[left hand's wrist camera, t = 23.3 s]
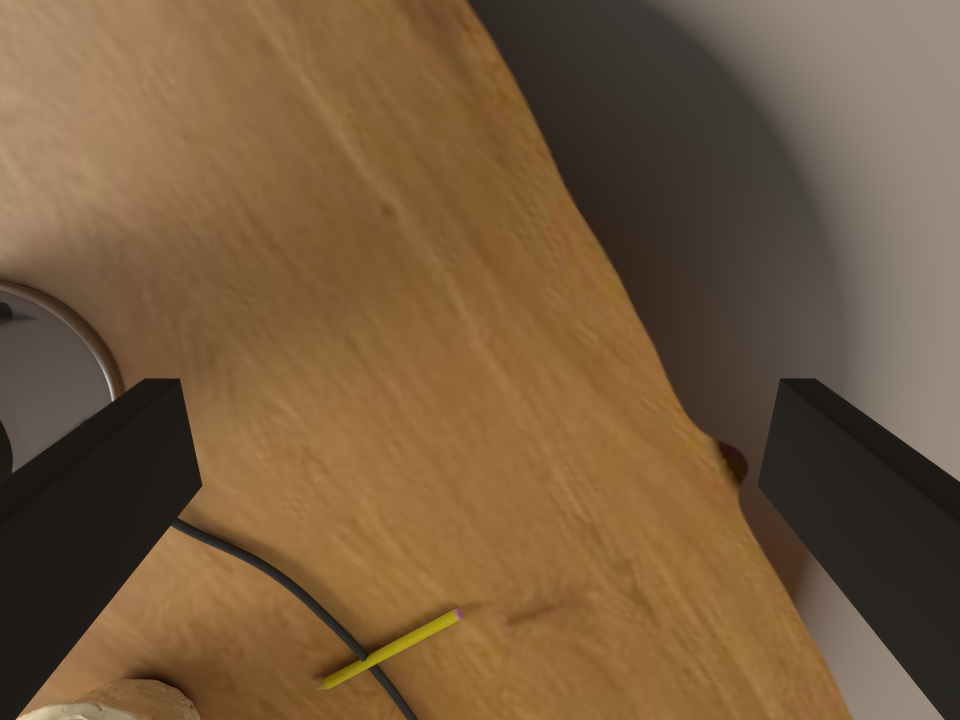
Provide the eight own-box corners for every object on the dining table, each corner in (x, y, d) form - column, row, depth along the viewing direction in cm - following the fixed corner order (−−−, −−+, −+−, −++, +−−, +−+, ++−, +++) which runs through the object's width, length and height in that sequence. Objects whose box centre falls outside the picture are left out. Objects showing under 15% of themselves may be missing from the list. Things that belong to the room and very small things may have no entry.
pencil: (456, 604, 50) (456, 613, 49) (463, 612, 50) (463, 621, 49) (313, 681, 53) (310, 691, 52) (320, 688, 53) (317, 697, 52)
